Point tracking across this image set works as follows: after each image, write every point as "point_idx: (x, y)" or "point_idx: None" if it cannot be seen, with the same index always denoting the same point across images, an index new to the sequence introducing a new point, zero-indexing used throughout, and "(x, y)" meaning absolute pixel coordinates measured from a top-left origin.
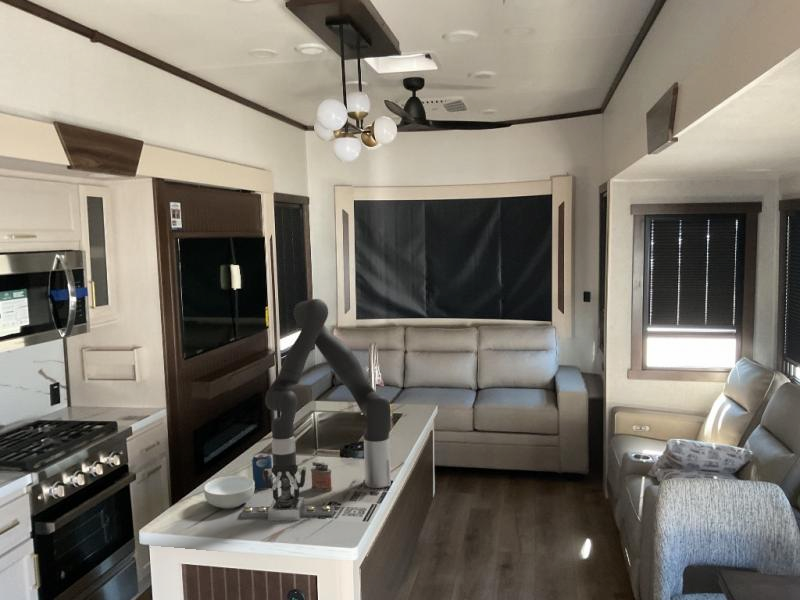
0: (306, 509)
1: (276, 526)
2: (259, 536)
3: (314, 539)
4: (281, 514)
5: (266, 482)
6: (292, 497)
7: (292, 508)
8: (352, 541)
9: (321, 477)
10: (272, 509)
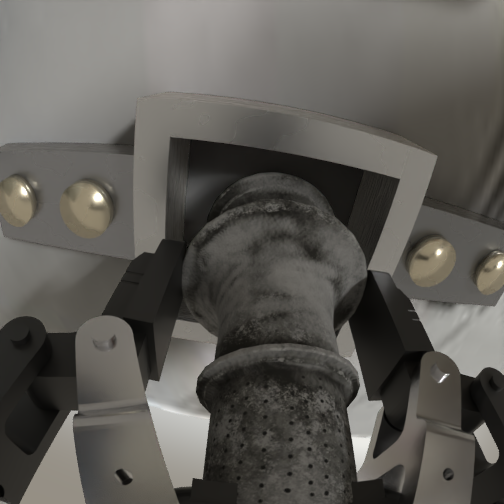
0: (403, 262)
1: (215, 344)
2: (160, 389)
3: (353, 420)
4: None
5: (20, 434)
6: (335, 318)
7: None
8: None
9: None
10: None
